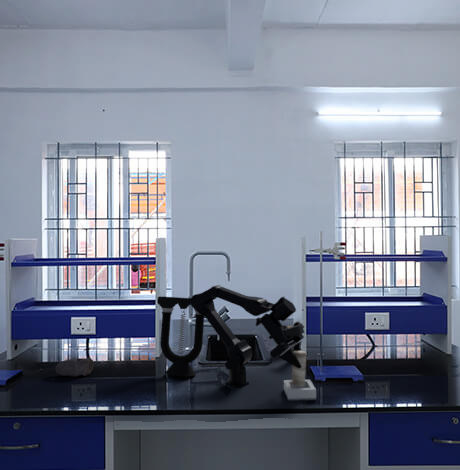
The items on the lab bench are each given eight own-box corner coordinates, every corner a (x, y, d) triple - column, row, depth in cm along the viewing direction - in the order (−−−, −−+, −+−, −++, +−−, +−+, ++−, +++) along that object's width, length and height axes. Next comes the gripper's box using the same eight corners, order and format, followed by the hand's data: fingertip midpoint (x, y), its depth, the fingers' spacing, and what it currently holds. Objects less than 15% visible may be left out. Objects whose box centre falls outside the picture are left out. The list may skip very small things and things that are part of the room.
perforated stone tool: (52, 377, 165) (52, 360, 165) (59, 373, 170) (58, 356, 170) (89, 378, 164) (88, 360, 164) (94, 373, 169) (94, 356, 169)
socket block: (288, 400, 139) (288, 390, 139) (283, 390, 148) (283, 380, 148) (316, 399, 139) (316, 389, 139) (310, 389, 148) (309, 379, 148)
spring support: (206, 372, 169) (210, 298, 173) (199, 379, 157) (204, 299, 161) (157, 368, 173) (162, 295, 176) (147, 374, 161) (153, 296, 164)
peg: (289, 381, 145) (291, 350, 145) (301, 380, 146) (303, 350, 146) (294, 386, 141) (296, 354, 141) (306, 386, 142) (308, 354, 142)
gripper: (280, 320, 137) (311, 360, 132) (300, 310, 153) (327, 346, 148) (257, 339, 141) (286, 379, 136) (279, 328, 157) (305, 363, 152)
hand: (302, 365), depth 143 cm, fingers closed on peg, 4 cm apart
